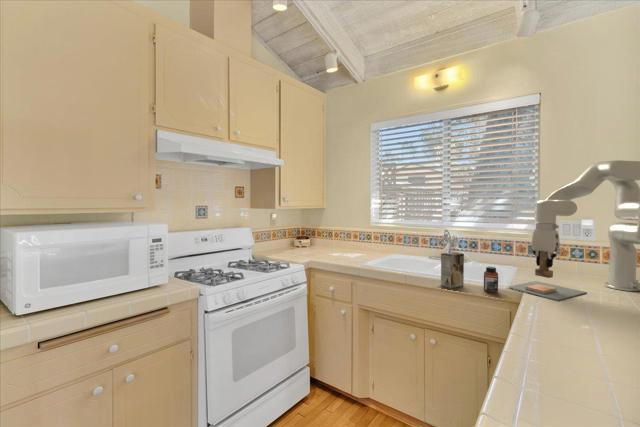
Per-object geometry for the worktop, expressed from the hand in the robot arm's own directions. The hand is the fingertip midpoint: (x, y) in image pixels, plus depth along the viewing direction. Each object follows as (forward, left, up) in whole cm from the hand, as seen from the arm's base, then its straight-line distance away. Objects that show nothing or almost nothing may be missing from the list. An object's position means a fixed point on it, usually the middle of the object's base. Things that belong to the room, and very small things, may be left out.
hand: (544, 266), depth 149 cm
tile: (0, +2, -10) cm, 11 cm away
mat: (0, -2, -12) cm, 12 cm away
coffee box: (+26, +30, -12) cm, 42 cm away
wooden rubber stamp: (0, 0, -5) cm, 5 cm away
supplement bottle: (+11, +22, -12) cm, 28 cm away
